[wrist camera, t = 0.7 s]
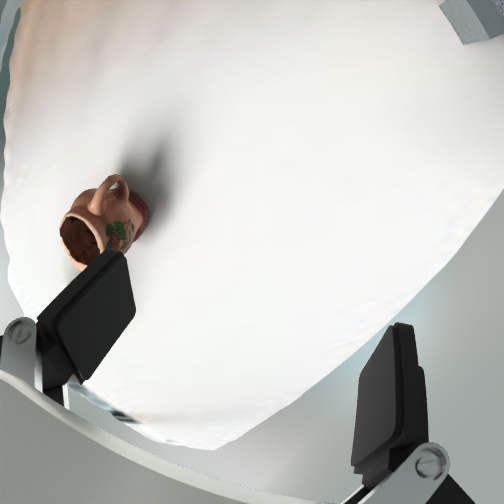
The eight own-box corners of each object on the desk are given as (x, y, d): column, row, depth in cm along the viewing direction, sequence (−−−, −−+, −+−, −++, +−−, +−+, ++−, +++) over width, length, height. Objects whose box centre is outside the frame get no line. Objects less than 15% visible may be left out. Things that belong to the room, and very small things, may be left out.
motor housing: (438, 6, 23) (464, -12, 15) (503, -15, 16) (536, -29, 8) (463, 44, 25) (495, 37, 17) (525, 21, 18) (561, 16, 10)
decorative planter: (115, 142, 46) (56, 168, 35) (171, 171, 47) (119, 206, 35) (99, 229, 58) (54, 266, 47) (145, 258, 58) (104, 302, 47)
